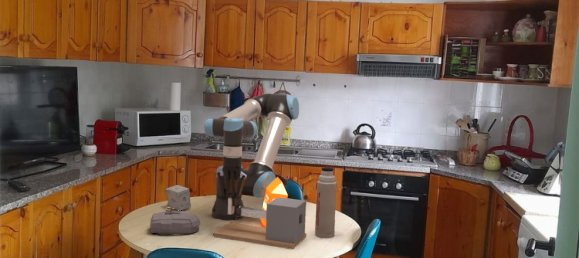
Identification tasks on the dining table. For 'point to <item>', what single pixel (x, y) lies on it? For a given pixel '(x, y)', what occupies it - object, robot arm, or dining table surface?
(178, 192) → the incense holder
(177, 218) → the grey rounded bag
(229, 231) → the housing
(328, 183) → the thermos bottle
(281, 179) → the decorative mushroom
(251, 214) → the shaft
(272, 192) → the orange juice
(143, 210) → the dining table surface
